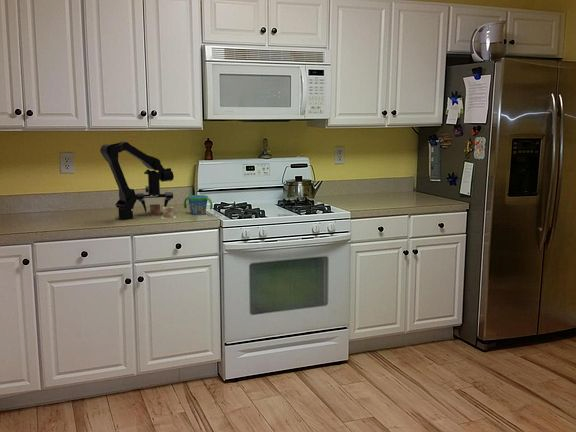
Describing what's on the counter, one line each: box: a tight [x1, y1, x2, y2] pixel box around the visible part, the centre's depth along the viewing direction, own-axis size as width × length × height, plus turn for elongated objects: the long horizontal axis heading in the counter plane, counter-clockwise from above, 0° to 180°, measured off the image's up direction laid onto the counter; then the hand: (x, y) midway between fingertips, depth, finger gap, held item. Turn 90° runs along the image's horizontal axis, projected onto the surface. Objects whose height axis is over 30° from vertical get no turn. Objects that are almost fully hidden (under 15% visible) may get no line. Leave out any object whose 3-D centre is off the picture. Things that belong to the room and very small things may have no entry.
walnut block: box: [149, 203, 161, 217], centre depth 316 cm, size 5×5×5 cm
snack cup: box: [183, 194, 213, 216], centre depth 320 cm, size 16×10×10 cm
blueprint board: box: [160, 215, 177, 220], centre depth 313 cm, size 16×20×1 cm
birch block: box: [162, 206, 175, 219], centre depth 308 cm, size 5×5×5 cm
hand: (155, 212), depth 316 cm, fingers open, 9 cm apart
